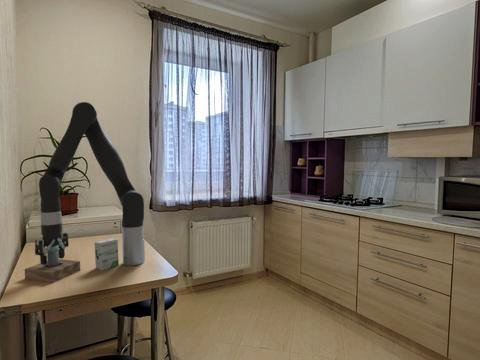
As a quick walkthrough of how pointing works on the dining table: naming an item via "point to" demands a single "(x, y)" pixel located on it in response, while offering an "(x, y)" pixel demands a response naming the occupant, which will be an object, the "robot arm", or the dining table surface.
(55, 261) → the peg
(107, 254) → the ink box
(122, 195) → the robot arm
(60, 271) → the socket
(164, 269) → the dining table surface
